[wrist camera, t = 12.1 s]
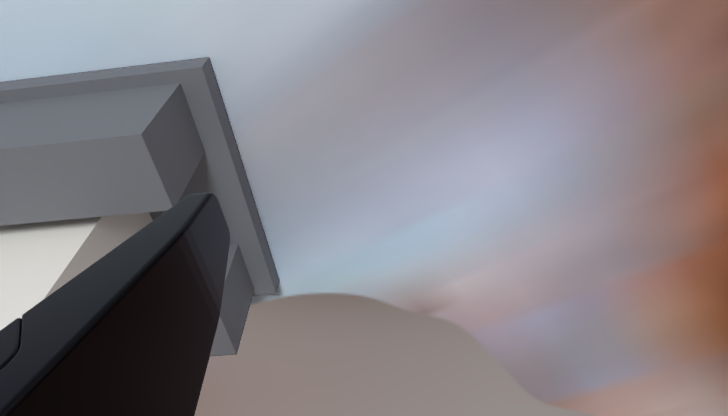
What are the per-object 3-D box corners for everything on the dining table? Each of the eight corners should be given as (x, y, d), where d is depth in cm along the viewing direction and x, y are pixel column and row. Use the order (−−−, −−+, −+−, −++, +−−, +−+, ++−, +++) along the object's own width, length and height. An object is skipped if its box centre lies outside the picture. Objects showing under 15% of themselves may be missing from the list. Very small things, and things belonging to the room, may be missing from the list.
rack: (209, 57, 20) (165, 116, 16) (279, 280, 27) (261, 360, 23) (-119, 96, 21) (-235, 160, 17) (29, 299, 28) (-29, 377, 24)
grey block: (131, 175, 22) (-76, 468, 12) (160, 237, 24) (5, 532, 14) (22, 186, 23) (-262, 477, 13) (61, 246, 25) (-157, 537, 15)
